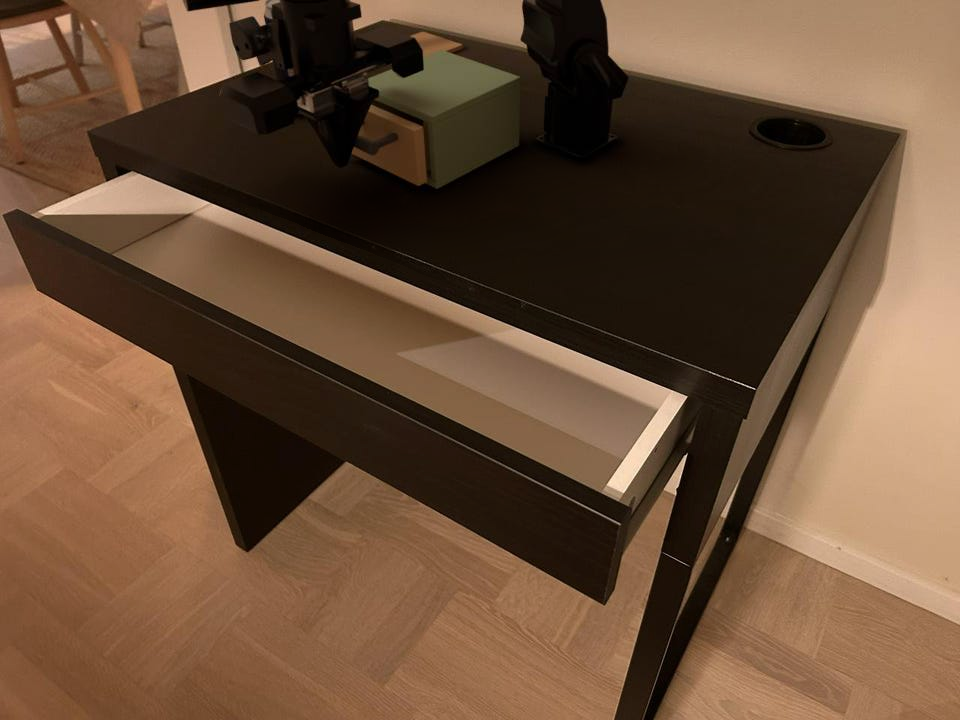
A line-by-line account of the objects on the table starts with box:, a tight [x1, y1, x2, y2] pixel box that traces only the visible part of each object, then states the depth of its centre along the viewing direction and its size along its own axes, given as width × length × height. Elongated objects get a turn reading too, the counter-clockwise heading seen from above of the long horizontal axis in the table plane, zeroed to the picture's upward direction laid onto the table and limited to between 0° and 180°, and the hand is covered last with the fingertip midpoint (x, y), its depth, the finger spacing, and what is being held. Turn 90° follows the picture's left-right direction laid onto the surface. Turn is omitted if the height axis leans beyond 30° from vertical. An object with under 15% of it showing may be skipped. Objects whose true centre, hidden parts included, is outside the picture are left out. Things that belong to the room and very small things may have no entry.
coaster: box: [410, 30, 464, 57], centre depth 103 cm, size 8×8×1 cm
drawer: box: [351, 100, 431, 187], centre depth 76 cm, size 15×10×6 cm
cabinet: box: [367, 50, 522, 190], centre depth 79 cm, size 13×12×8 cm
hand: (340, 165), depth 72 cm, fingers closed
